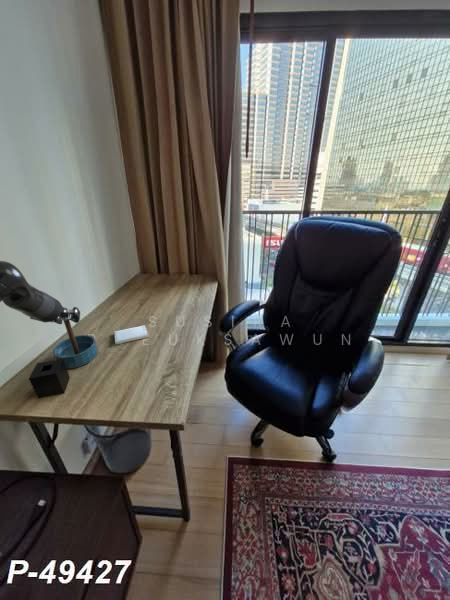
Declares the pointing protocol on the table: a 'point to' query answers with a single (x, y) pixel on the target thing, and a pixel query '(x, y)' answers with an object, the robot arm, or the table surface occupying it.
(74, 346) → the stick
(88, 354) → the bowl
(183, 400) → the table surface
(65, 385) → the holder
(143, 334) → the hard drive
